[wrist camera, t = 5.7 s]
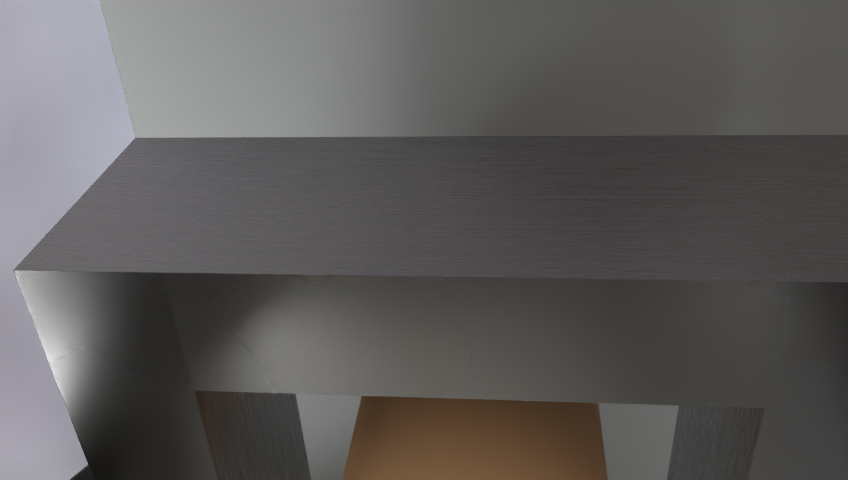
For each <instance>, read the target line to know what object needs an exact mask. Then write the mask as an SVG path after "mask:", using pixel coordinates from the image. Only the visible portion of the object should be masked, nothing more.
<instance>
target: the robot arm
mask: <svg viewBox="0 0 848 480" xmlns="http://www.w3.org/2000/svg"><path fill="white" fill-rule="evenodd" d="M70 480H94V478H93V475H92V472H91V470H90V467H89V465H87V466H86V467H85V468H84V469H82V470H81V471H80V472H79V473H77V474H76V475H75V476H74V477H72V478H71V479H70Z"/></svg>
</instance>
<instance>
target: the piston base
mask: <svg viewBox="0 0 848 480" xmlns="http://www.w3.org/2000/svg"><path fill="white" fill-rule="evenodd" d="M100 3H101V7H102V11H103V14H104V18H105V22H106V26H107V30H108V33H109V37H110V41H111V45H112V49H113V53H114V56H115V60H116V64H117V68H118V72H119V76H120V79H121V83H122V87H123V91H124V95H125V99H126V102H127V106H128V110H129V114H130V118H131V122H132V125H133V129H134V133H135V137H136V138H196V137H423V136H649V135H848V0H100ZM296 398H297V403H298V409H299V415H300V420H301V426H302V431H303V437H304V442H305V448H306V453H307V459H308V464H309V470H310V476H311V480H667V476H668V470H669V464H670V457H671V451H672V445H673V439H674V432H675V426H676V420H677V413H678V407H679V406H678V405H646V404H613V403H581V402H548V401H515V400H483V399H450V398H418V397H385V396H353V395H320V394H296Z"/></svg>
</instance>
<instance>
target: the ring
mask: <svg viewBox="0 0 848 480" xmlns="http://www.w3.org/2000/svg"><path fill="white" fill-rule="evenodd" d="M13 271H14V273H15V276H16V278H17V281H18V284H19V286H20V289H21V291H22V294H23V297H24V299H25V302H26V304H27V307H28V310H29V312H30V315H31V317H32V320H33V322H34V325H35V328H36V330H37V333H38V335H39V338H40V341H41V343H42V346H43V348H44V351H45V353H46V356H47V359H48V361H49V364H50V366H51V369H52V372H53V374H54V377H55V379H56V382H57V384H58V387H59V390H60V392H61V395H62V397H63V400H64V403H65V405H66V408H67V410H68V413H69V416H70V418H71V421H72V423H73V426H74V428H75V431H76V434H77V436H78V439H79V441H80V444H81V447H82V449H83V452H84V454H85V457H86V459H87V462H88V465H89V467H90V470H91V472H92V475H93V478H94V480H311V476H310V470H309V464H308V459H307V453H306V448H305V442H304V437H303V431H302V426H301V420H300V415H299V409H298V403H297V398H296V394H320V395H353V396H385V397H418V398H450V399H483V400H515V401H548V402H581V403H613V404H646V405H678V406H679V407H678V413H677V420H676V426H675V432H674V439H673V445H672V451H671V457H670V464H669V470H668V476H667V480H848V135H649V136H423V137H196V138H135V139H134V140H133V141H132V142H131V143H130V145H129V146H128V147H127V148H126V149H125V150H124V151H123V152H122V153H121V154H120V155H119V156H118V158H117V159H116V160H115V161H114V162H113V163H112V164H111V165H110V166H109V167H108V168H107V169H106V171H105V172H104V173H103V174H102V175H101V176H100V177H99V178H98V179H97V180H96V181H95V182H94V184H93V185H92V186H91V187H90V188H89V189H88V190H87V191H86V192H85V193H84V194H83V195H82V197H81V198H80V199H79V200H78V201H77V202H76V203H75V204H74V205H73V206H72V207H71V209H70V210H69V211H68V212H67V213H66V214H65V215H64V216H63V217H62V218H61V219H60V220H59V222H58V223H57V224H56V225H55V226H54V227H53V228H52V229H51V230H50V231H49V232H48V233H47V235H46V236H45V237H44V238H43V239H42V240H41V241H40V242H39V243H38V244H37V245H36V246H35V248H34V249H33V250H32V251H31V252H30V253H29V254H28V255H27V256H26V257H25V258H24V259H23V261H22V262H21V263H20V264H19V265H18V266H17V267H16V268H15V269H14V270H13Z"/></svg>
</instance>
